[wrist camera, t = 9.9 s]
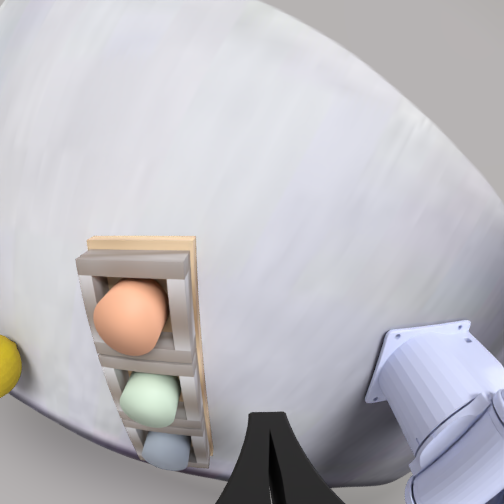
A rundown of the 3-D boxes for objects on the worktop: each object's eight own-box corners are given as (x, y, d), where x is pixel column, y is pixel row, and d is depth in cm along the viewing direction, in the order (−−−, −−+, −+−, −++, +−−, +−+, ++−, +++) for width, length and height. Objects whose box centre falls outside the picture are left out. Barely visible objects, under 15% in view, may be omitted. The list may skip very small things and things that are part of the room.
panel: (93, 236, 18) (71, 249, 15) (195, 236, 18) (186, 251, 15) (146, 441, 24) (140, 462, 22) (213, 448, 25) (211, 471, 22)
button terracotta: (167, 274, 17) (153, 297, 14) (173, 331, 18) (162, 359, 15) (108, 272, 17) (87, 292, 14) (118, 326, 18) (101, 351, 15)
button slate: (188, 424, 21) (184, 451, 18) (194, 448, 23) (190, 472, 20) (144, 419, 21) (136, 444, 18) (153, 443, 22) (147, 466, 20)
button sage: (178, 365, 19) (170, 394, 16) (184, 402, 20) (178, 430, 18) (126, 360, 19) (113, 386, 16) (137, 397, 20) (127, 423, 17)
